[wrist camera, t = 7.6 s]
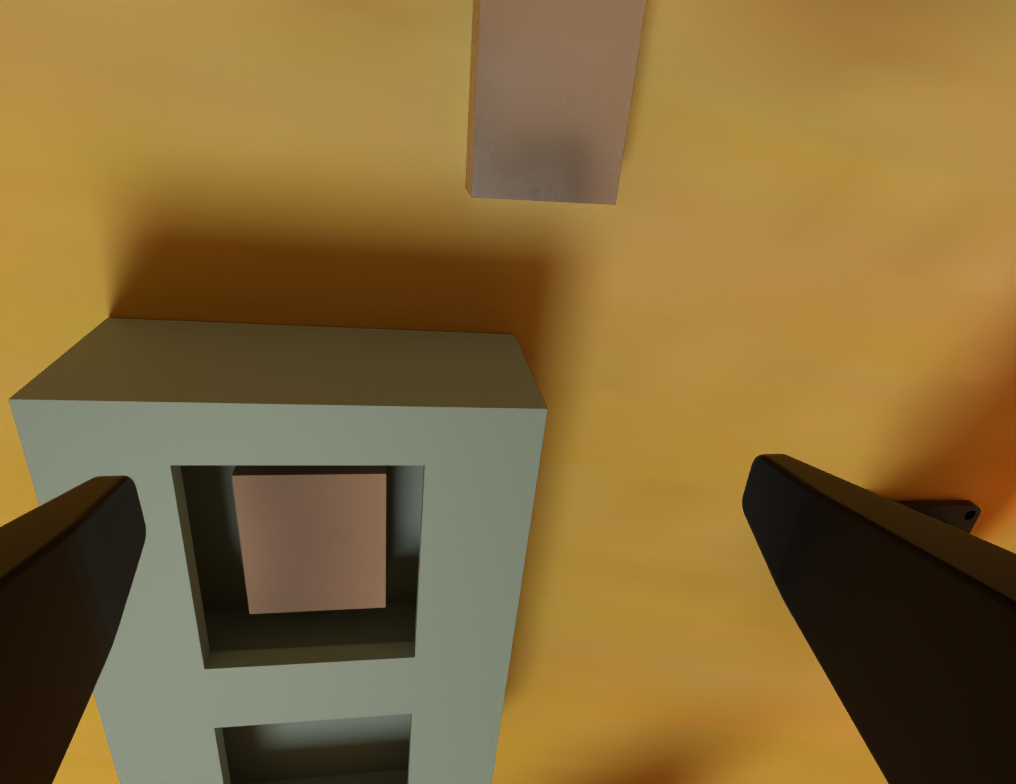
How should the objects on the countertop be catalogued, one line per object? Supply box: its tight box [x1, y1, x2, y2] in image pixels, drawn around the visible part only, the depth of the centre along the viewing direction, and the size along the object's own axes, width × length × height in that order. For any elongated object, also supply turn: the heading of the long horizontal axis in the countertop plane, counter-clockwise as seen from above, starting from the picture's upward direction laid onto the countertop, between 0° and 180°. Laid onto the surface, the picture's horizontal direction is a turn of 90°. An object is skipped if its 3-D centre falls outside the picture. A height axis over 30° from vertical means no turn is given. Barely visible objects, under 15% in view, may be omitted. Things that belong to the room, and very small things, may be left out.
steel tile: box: [465, 0, 646, 205], centre depth 16 cm, size 4×5×2 cm
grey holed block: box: [9, 318, 548, 784], centre depth 21 cm, size 12×20×5 cm, turn 174°
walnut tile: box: [232, 465, 387, 614], centre depth 18 cm, size 4×5×2 cm
